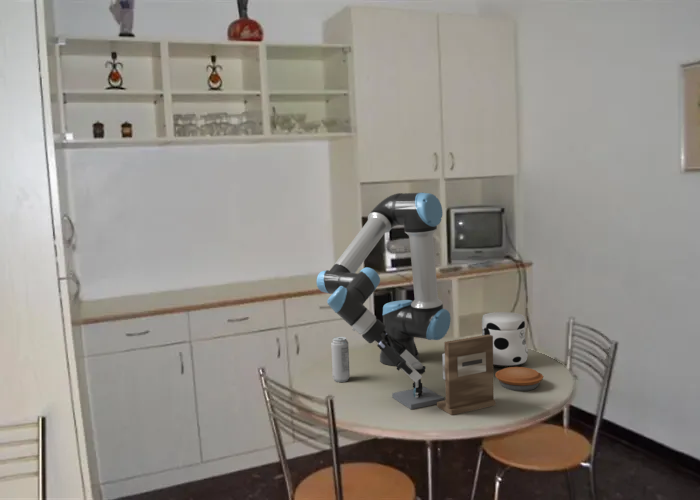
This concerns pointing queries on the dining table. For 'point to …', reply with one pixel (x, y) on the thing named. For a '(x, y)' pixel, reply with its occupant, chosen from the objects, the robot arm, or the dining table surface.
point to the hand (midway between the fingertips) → (418, 372)
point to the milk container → (506, 338)
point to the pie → (519, 378)
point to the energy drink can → (340, 359)
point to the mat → (422, 401)
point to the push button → (418, 384)
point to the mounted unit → (468, 374)
